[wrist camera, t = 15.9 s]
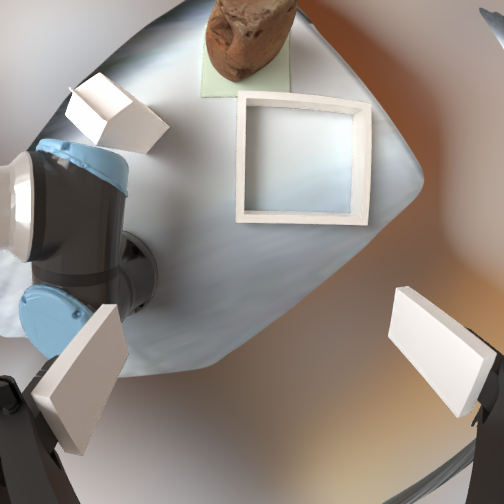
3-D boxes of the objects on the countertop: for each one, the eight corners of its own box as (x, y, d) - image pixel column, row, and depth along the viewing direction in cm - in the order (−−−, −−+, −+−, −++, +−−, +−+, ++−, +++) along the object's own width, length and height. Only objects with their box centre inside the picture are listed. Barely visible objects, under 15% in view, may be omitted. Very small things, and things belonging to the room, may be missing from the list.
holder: (235, 217, 48) (235, 222, 43) (237, 98, 43) (238, 90, 38) (355, 220, 49) (367, 225, 45) (358, 109, 44) (371, 103, 40)
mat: (201, 97, 43) (200, 96, 42) (205, 25, 39) (205, 24, 39) (288, 99, 44) (289, 98, 43) (288, 28, 40) (288, 26, 40)
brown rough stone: (252, 26, 39) (264, -44, 20) (284, 53, 41) (314, -8, 22) (204, 64, 41) (187, 3, 21) (236, 93, 42) (239, 42, 23)
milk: (146, 105, 42) (87, 61, 21) (170, 127, 44) (124, 92, 22) (121, 133, 43) (49, 109, 22) (145, 155, 45) (82, 143, 23)
